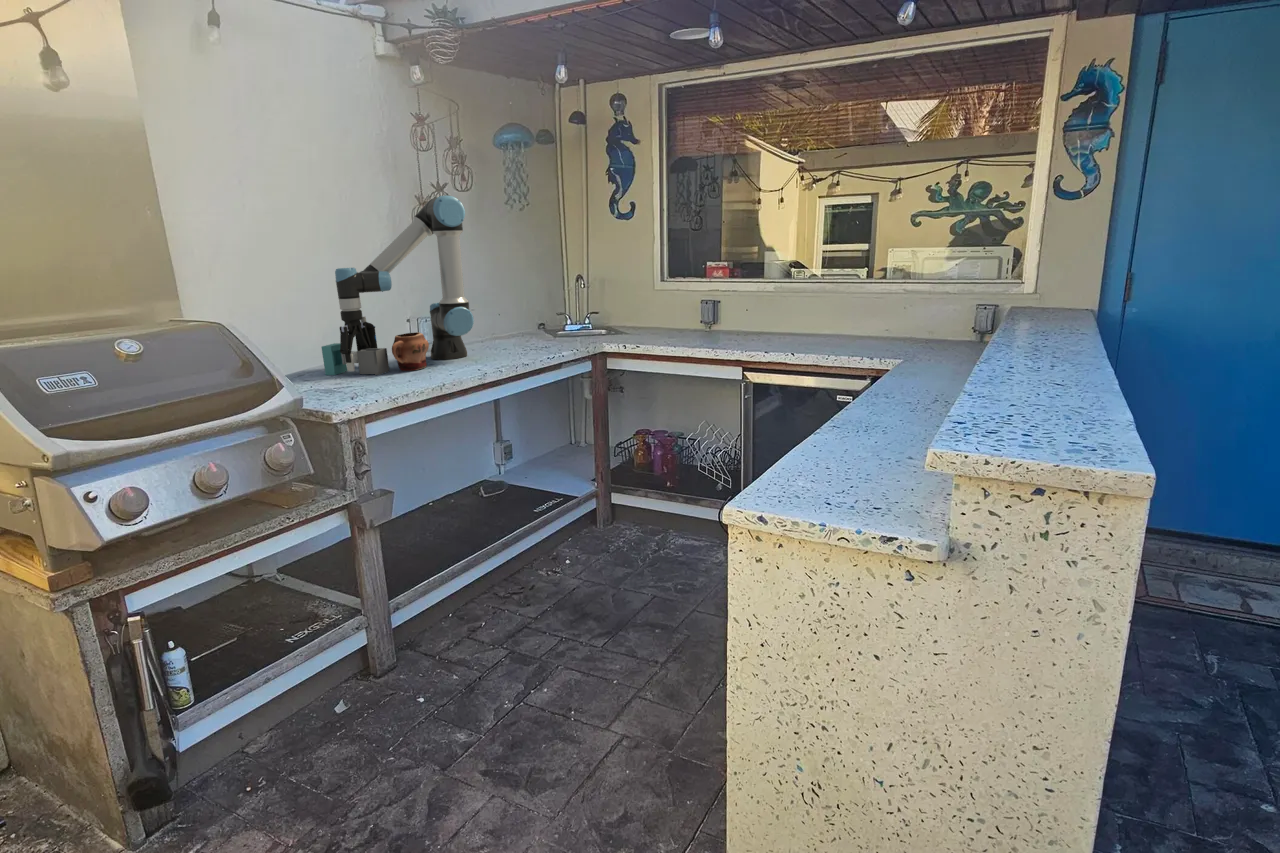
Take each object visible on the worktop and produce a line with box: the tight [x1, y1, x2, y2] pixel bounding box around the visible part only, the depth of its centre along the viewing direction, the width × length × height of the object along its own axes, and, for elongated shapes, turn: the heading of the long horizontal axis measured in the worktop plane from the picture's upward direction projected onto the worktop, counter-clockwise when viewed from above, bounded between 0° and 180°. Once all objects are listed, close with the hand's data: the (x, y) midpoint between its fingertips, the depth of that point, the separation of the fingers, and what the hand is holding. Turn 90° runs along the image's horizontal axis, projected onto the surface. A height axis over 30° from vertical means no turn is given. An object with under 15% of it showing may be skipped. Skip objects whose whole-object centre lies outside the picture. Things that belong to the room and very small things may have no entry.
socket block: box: [321, 342, 348, 376], centre depth 280 cm, size 4×8×11 cm, turn 168°
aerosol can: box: [354, 316, 378, 351], centre depth 292 cm, size 8×8×20 cm
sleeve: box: [356, 347, 390, 376], centre depth 277 cm, size 8×7×9 cm
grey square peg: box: [341, 350, 358, 365], centre depth 278 cm, size 14×5×5 cm, turn 78°
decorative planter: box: [391, 332, 430, 372], centre depth 281 cm, size 20×12×14 cm, turn 167°
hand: (359, 368), depth 279 cm, fingers open, 9 cm apart
